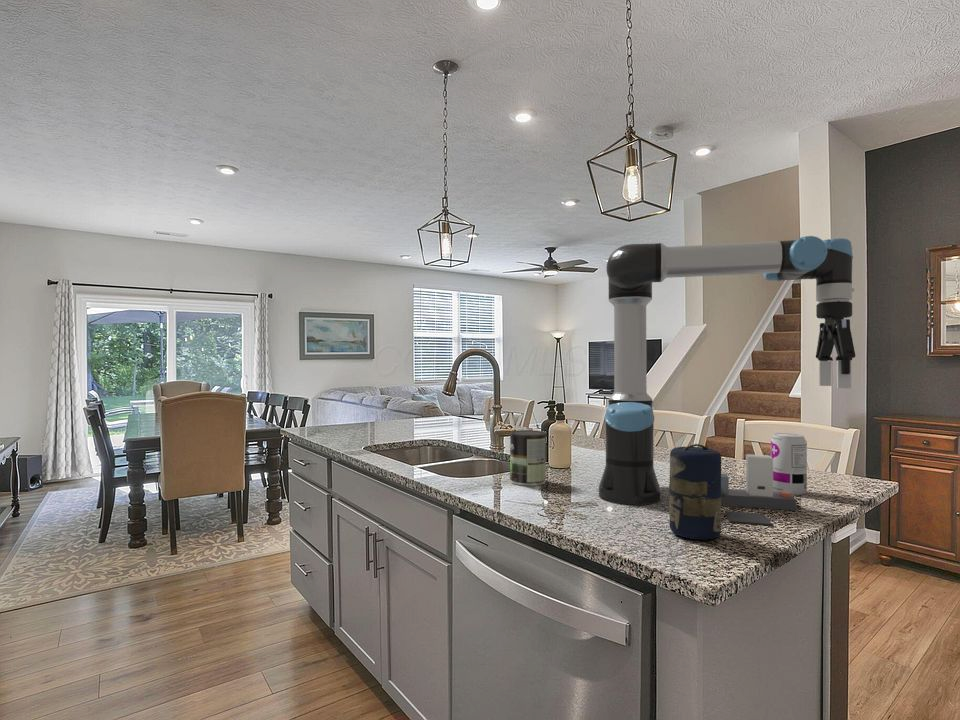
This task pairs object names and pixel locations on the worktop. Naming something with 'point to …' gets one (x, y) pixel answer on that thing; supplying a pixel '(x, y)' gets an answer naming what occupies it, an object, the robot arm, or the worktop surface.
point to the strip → (755, 498)
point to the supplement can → (789, 463)
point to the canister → (695, 492)
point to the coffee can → (527, 457)
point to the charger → (759, 475)
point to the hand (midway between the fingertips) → (834, 387)
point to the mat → (747, 518)
